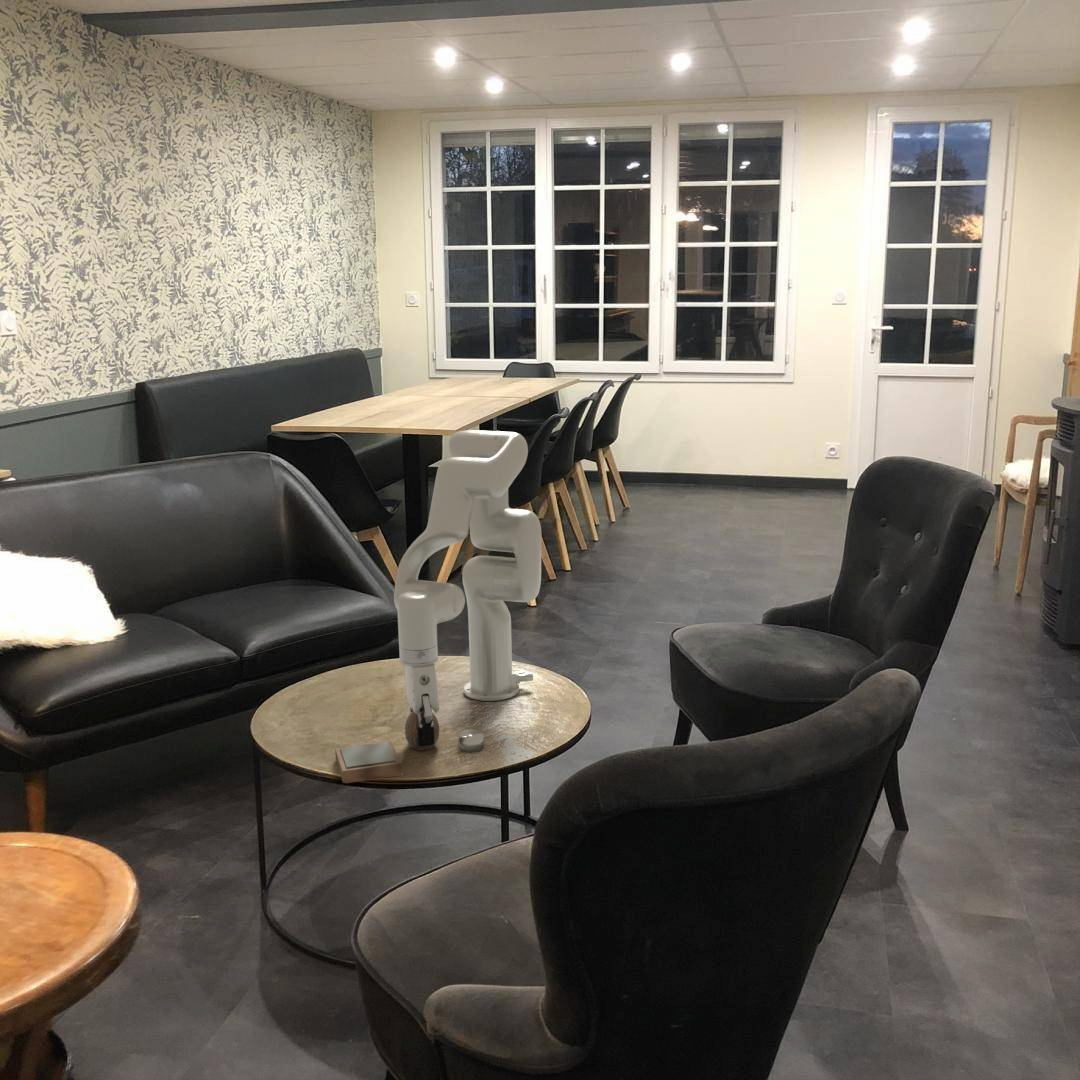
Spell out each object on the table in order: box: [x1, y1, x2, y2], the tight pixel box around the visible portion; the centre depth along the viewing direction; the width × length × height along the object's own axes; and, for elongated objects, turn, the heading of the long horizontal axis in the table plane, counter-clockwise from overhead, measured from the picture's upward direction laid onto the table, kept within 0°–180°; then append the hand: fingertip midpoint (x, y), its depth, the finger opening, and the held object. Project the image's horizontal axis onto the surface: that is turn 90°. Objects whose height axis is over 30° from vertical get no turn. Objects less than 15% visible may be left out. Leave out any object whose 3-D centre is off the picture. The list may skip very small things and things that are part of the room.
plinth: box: [334, 740, 403, 784], centre depth 214 cm, size 11×11×3 cm
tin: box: [457, 729, 485, 754], centre depth 222 cm, size 5×5×3 cm
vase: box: [404, 709, 440, 751], centre depth 223 cm, size 7×7×9 cm
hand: (422, 737), depth 223 cm, fingers closed on vase, 6 cm apart
